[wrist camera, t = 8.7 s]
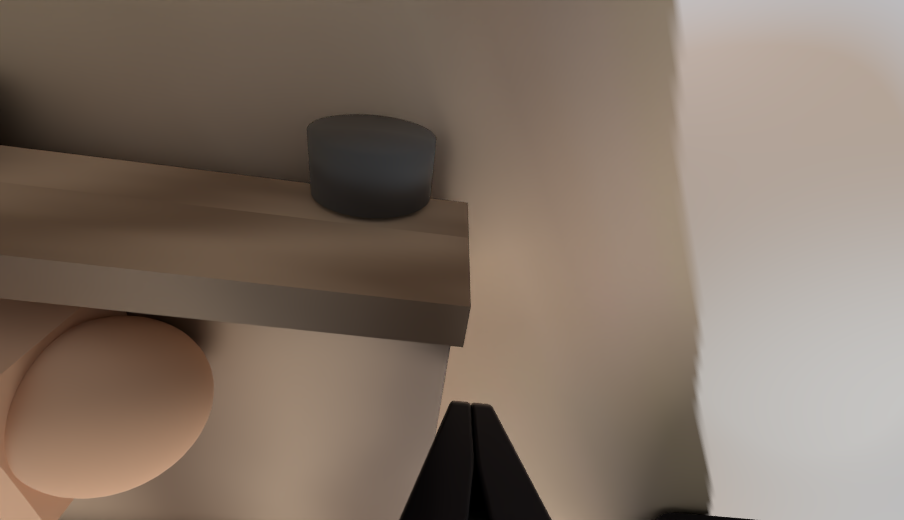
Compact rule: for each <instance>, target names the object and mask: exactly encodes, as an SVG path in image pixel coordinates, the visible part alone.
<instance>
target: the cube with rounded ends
mask: <svg viewBox="0 0 904 520" xmlns="http://www.w3.org/2000/svg"><path fill="white" fill-rule="evenodd" d="M213 397H214V381H213V375H212V371H211V367H210V364H209V362H208V360H207V358H206V356H205V354H204V353H203V351H202V350H201V348H200V347H199V346H198V345H197V344H196V343H195V342H194V341H193V340H192V339H191V338H190V337H189V336H188V335H187V334H185V333H184V332H182V331H181V330H179V329H178V328H176V327H174V326H172V325H170V324H167V323H165V322H162V321H159V320H155V319H150V318H146V317H139V316H127V313H126V312H125V311H116V310H106V309H97V308H87V307H78V306H68V305H59V304H49V303H40V302H30V301H21V300H11V299H2V298H0V520H58V519H59V518H60V517H61V515H62V514H63V513H64V511H65V510H66V509H67V507H68V506H69V505H70V503H71V502H72V501H73V499H74V498H76V499H89V498H97V497H105V496H110V495H114V494H118V493H121V492H125V491H128V490H130V489H133V488H135V487H138V486H140V485H142V484H144V483H146V482H148V481H150V480H152V479H154V478H155V477H157V476H159V475H160V474H161V473H163V472H164V471H166V470H167V469H168V468H170V467H171V466H173V465H174V464H175V463H176V462H177V461H178V460H179V459H180V458H182V457H183V455H184V454H185V453H186V452H187V451H188V450H189V449H190V448H191V446H192V445H193V444H194V443H195V441H196V440H197V438H198V437H199V435H200V434H201V432H202V430H203V428H204V426H205V424H206V422H207V420H208V417H209V414H210V411H211V408H212V403H213Z"/></svg>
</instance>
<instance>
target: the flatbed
mask: <svg viewBox="0 0 904 520" xmlns="http://www.w3.org/2000/svg"><path fill="white" fill-rule="evenodd" d="M307 139H308V156H309V173H310V183H303V182H295V181H287V180H278V179H270V178H262V177H254V176H246V175H238V174H230V173H222V172H214V171H205V170H197V169H189V168H181V167H173V166H165V165H157V164H149V163H141V162H133V161H124V160H116V159H108V158H100V157H92V156H84V155H76V154H68V153H60V152H51V151H43V150H35V149H27V148H19V147H11V146H3V145H0V298H2V299H11V300H21V301H30V302H40V303H49V304H59V305H68V306H78V307H87V308H97V309H106V310H116V311H125V312H126V313H127V316H139V317H146V318H150V319H155V320H159V321H162V322H165V323H167V324H170V325H172V326H174V327H176V328H178V329H179V330H181V331H182V332H184V333H185V334H187V335H188V336H189V337H190V338H191V339H192V340H193V341H194V342H195V343H196V344H197V345H198V346H199V347H200V348H201V350H202V351H203V353H204V354H205V356H206V358H207V360H208V362H209V364H210V367H211V371H212V375H213V381H214V397H213V403H212V408H211V411H210V414H209V417H208V420H207V422H206V424H205V426H204V428H203V430H202V432H201V434H200V435H199V437H198V438H197V440H196V441H195V443H194V444H193V445H192V446H191V448H190V449H189V450H188V451H187V452H186V453H185V454H184V455H183V457H182V458H180V459H179V460H178V461H177V462H176V463H175V464H174V465H173V466H171V467H170V468H168V469H167V470H166V471H164V472H163V473H161V474H160V475H159V476H157V477H155V478H154V479H152V480H150V481H148V482H146V483H144V484H142V485H140V486H138V487H135V488H133V489H130V490H128V491H125V492H121V493H118V494H114V495H110V496H105V497H97V498H89V499H76V498H74V499H73V501H72V502H71V503H70V505H69V506H68V507H67V509H66V510H65V511H64V513H63V514H62V515H61V517H60V518H59V519H58V520H399V519H400V516H401V514H402V512H403V509H404V507H405V505H406V503H407V500H408V498H409V496H410V493H411V491H412V489H413V487H414V484H415V482H416V480H417V477H418V475H419V473H420V471H421V468H422V466H423V464H424V461H425V459H426V457H427V454H428V452H429V450H430V448H431V445H432V443H433V441H434V438H435V433H436V428H437V422H438V416H439V410H440V404H441V398H442V392H443V386H444V380H445V374H446V369H447V363H448V357H449V351H450V346H457V347H463V344H464V339H465V334H466V329H467V323H468V318H469V313H470V308H471V300H470V266H469V232H468V203H465V202H457V201H449V200H441V199H432V198H430V195H431V185H432V176H433V166H434V157H435V148H436V137H435V135H434V134H433V133H432V132H431V131H430V130H428V129H426V128H424V127H422V126H420V125H418V124H415V123H412V122H408V121H405V120H401V119H396V118H391V117H384V116H376V115H337V116H330V117H325V118H321V119H319V120H316V121H314V122H312V123H311V124H310V125H309V126H308V127H307Z"/></svg>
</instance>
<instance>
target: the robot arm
mask: <svg viewBox="0 0 904 520" xmlns="http://www.w3.org/2000/svg"><path fill="white" fill-rule="evenodd" d="M399 520H551V518H550V516H549V514H548V512H547V510H546V508H545V506H544V504H543V502H542V501H541V499H540V497H539V495H538V493H537V491H536V489H535V487H534V485H533V483H532V481H531V480H530V478H529V476H528V474H527V472H526V470H525V468H524V466H523V464H522V462H521V460H520V459H519V457H518V455H517V453H516V451H515V449H514V447H513V445H512V443H511V441H510V439H509V438H508V436H507V434H506V432H505V430H504V428H503V426H502V424H501V422H500V420H499V418H498V417H497V415H496V413H495V411H494V409H493V407H492V406H491V405H489V404H482V403H472V404H471V405H470V403H468V402H461V401H452V402H451V403H450V404H449V406H448V409H447V411H446V413H445V416H444V418H443V420H442V422H441V425H440V427H439V429H438V432H437V434H436V436H435V438H434V441H433V443H432V445H431V448H430V450H429V452H428V454H427V457H426V459H425V461H424V464H423V466H422V468H421V471H420V473H419V475H418V477H417V480H416V482H415V484H414V487H413V489H412V491H411V493H410V496H409V498H408V500H407V503H406V505H405V507H404V509H403V512H402V514H401V516H400V519H399ZM656 520H753V519H741V518H730V517H718V516H707V515H695V514H684V513H665V514H662V515H660V516H659V517H657V519H656Z"/></svg>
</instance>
